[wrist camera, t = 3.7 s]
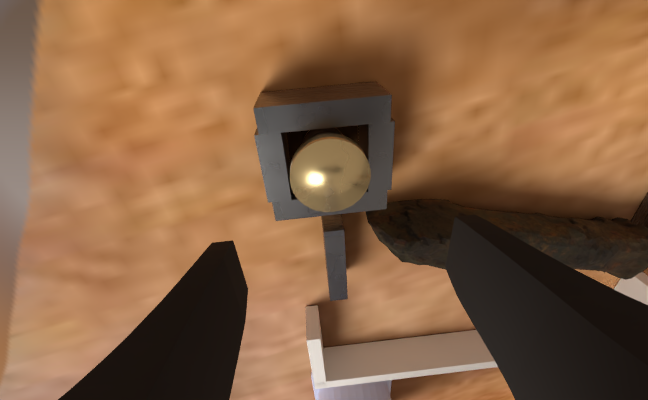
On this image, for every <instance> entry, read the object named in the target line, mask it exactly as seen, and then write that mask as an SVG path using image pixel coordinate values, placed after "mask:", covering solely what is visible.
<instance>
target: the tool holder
mask: <svg viewBox="0 0 648 400" xmlns="http://www.w3.org/2000/svg"><path fill="white" fill-rule="evenodd" d="M391 98H392V95H391V94H390V93H389V92H388V91H387V90H385V89H384V88H383V87H382V86H381V85H380V84H378V83H377V82H365V83H355V84H344V85H334V86H323V87H313V88H302V89H292V90H281V91H271V92H261V93H260V95H259V97H258V99H257V101H256V104H255V106H254V113H255V118H256V124H257V129H256V132H255V135H254V136H255V141H256V146H257V151H258V156H259V160H260V165H261V170H262V175H263V180H264V184H265V189H266V194H267V199H268V202H272V204H273V209H274V214H275V219H276V221H279V220H289V219H298V218H307V217H317V216H321V217H322V227H323V237H324V248H325V258H326V268H327V278H328V286H329V295H330V301H334V300H343V299H348V297H347V276H346V256H345V235H344V227H343V222H342V218H341V214H345V213H354V212H364V211H373V210H382V209H387V190H391V185H392V166H393V146H394V127H395V121H394V120H393V119H392V118H391ZM354 125H358V145H359V146H360V147H361V149H362V150H363V152H364V154H365V156H366V158H367V160H368V162H369V165H370V170H371V178H370V183H369V186H368V188H367V190H366V192H365V194H364V195H363V196H362V197H361V199H360V200H359V201H357V202H356V203H355V204H353V205H352V206H350V207H348V208H346V209H343V210H340V211H336V212H321V211H316V210H313V209H311V208H309V207H307V206H305V205H304V204H303V203H301V202H300V201H299V200H298V199H297V197H296V196H295V194H294V193H293V191H292V188H291V184H290V165H291V162H290V155H289V149H288V142H287V135H286V132H293V131H304V130H314V129H324V128H334V127H344V126H354ZM631 222H632V223H634V224H636V225H642V226H644V227H646V228H648V193H647V195H646V196H645V198H644V200H643V202H642V203H641V205H640V207H639V208H638V210H637V212H636V214H635V215H634V217H633V219H632V220H631Z"/></svg>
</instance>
